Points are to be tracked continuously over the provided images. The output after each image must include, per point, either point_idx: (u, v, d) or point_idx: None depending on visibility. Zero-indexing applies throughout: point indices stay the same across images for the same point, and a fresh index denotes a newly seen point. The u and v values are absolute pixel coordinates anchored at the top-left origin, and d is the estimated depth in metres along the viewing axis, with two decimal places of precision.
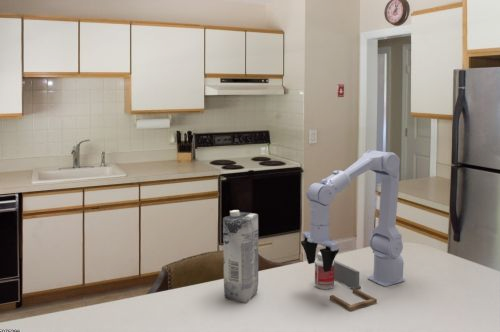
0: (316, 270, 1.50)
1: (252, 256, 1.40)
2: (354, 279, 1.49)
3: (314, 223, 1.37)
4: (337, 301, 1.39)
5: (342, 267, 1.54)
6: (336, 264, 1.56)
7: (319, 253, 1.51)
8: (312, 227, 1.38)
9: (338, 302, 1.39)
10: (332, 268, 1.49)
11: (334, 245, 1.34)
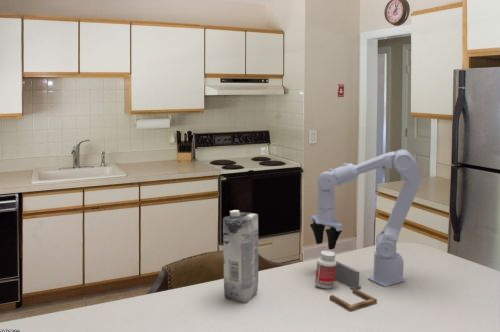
0: (318, 269, 1.50)
1: (252, 256, 1.40)
2: (354, 279, 1.49)
3: None
4: (337, 301, 1.39)
5: (342, 267, 1.54)
6: (336, 264, 1.56)
7: (322, 252, 1.50)
8: (319, 210, 1.56)
9: (338, 302, 1.39)
10: (334, 268, 1.49)
11: (339, 226, 1.52)
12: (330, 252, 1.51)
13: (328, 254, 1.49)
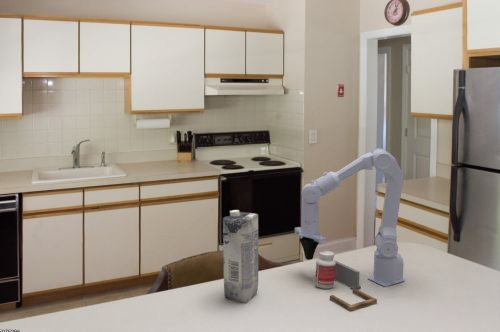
0: (317, 269, 1.51)
1: (252, 256, 1.40)
2: (354, 279, 1.49)
3: (301, 218, 1.56)
4: (337, 301, 1.39)
5: (342, 267, 1.54)
6: (336, 264, 1.56)
7: (321, 252, 1.51)
8: (303, 223, 1.55)
9: (338, 302, 1.39)
10: (332, 268, 1.49)
11: (322, 239, 1.51)
12: (329, 252, 1.51)
13: (326, 253, 1.50)
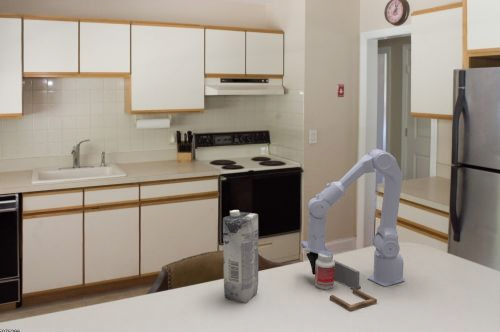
0: (316, 270, 1.50)
1: (252, 256, 1.40)
2: (354, 279, 1.49)
3: (309, 233, 1.53)
4: (337, 301, 1.39)
5: (342, 267, 1.54)
6: (336, 264, 1.56)
7: None
8: (310, 238, 1.52)
9: (338, 302, 1.39)
10: (331, 269, 1.48)
11: (329, 255, 1.48)
12: None
13: (325, 255, 1.49)
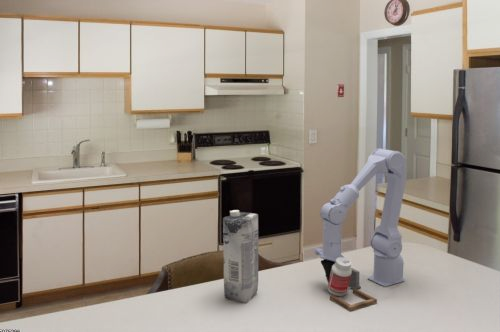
0: (331, 275, 1.44)
1: (252, 256, 1.40)
2: (354, 279, 1.49)
3: (325, 241, 1.45)
4: (337, 301, 1.39)
5: None
6: None
7: (338, 260, 1.42)
8: (325, 245, 1.46)
9: (338, 302, 1.39)
10: (347, 278, 1.41)
11: (346, 262, 1.41)
12: (346, 260, 1.43)
13: (343, 263, 1.41)
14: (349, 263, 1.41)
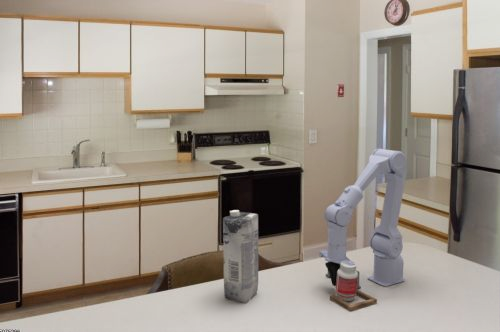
0: (337, 280, 1.41)
1: (252, 256, 1.40)
2: None
3: (331, 243, 1.43)
4: (337, 301, 1.39)
5: None
6: None
7: (342, 263, 1.41)
8: (330, 247, 1.44)
9: (338, 302, 1.39)
10: (353, 280, 1.39)
11: (351, 265, 1.39)
12: None
13: (347, 265, 1.40)
14: (354, 265, 1.40)
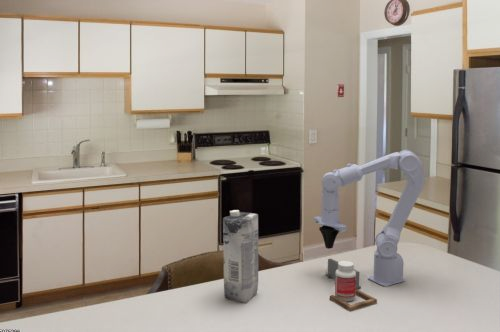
0: (335, 280, 1.42)
1: (252, 256, 1.40)
2: None
3: (321, 207, 1.56)
4: (337, 301, 1.39)
5: None
6: (336, 264, 1.56)
7: (340, 263, 1.42)
8: (323, 212, 1.55)
9: (338, 302, 1.39)
10: (351, 279, 1.40)
11: (343, 227, 1.50)
12: (348, 262, 1.42)
13: (345, 264, 1.41)
14: (351, 264, 1.41)
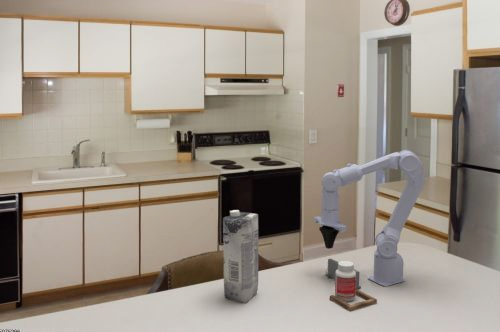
0: (335, 280, 1.42)
1: (252, 256, 1.40)
2: None
3: (321, 207, 1.56)
4: (337, 301, 1.39)
5: None
6: (336, 264, 1.56)
7: (340, 263, 1.42)
8: (323, 212, 1.55)
9: (338, 302, 1.39)
10: (351, 279, 1.40)
11: (343, 227, 1.50)
12: (349, 263, 1.42)
13: (345, 264, 1.41)
14: (351, 264, 1.41)
